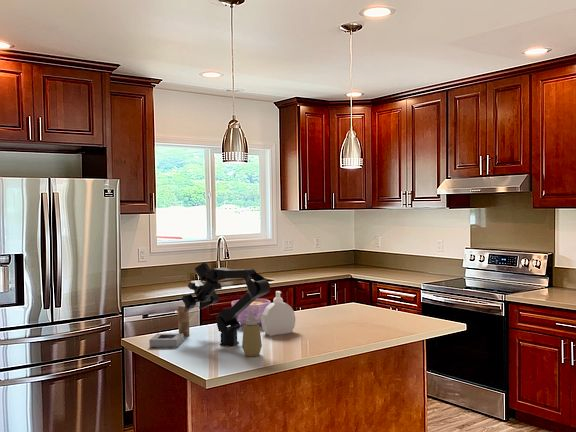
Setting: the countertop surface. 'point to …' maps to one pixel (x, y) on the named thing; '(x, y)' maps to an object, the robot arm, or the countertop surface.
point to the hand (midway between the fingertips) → (192, 310)
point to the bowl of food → (256, 307)
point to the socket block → (166, 340)
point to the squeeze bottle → (251, 337)
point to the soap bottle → (278, 317)
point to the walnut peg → (183, 320)
